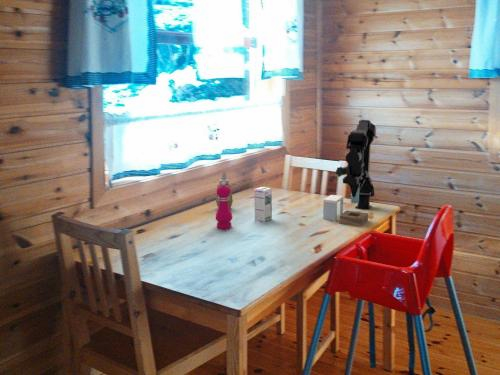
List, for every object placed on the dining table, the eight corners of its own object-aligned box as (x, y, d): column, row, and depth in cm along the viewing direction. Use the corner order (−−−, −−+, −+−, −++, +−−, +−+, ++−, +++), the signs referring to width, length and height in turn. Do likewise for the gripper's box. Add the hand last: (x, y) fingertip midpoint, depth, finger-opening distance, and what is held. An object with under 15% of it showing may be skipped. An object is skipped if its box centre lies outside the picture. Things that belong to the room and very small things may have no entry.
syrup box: (264, 221, 248) (264, 190, 245) (254, 219, 251) (253, 188, 248) (271, 219, 252) (272, 187, 249) (261, 216, 256) (261, 186, 253)
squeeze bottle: (213, 207, 271) (212, 171, 267) (228, 206, 275) (228, 170, 270) (219, 211, 264) (219, 174, 260) (235, 209, 267) (235, 173, 263)
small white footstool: (330, 213, 261) (331, 194, 259) (342, 214, 259) (343, 196, 256) (323, 218, 253) (323, 199, 250) (335, 220, 250) (336, 201, 248)
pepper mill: (230, 229, 237) (229, 184, 232) (213, 229, 238) (212, 183, 233) (234, 225, 243) (233, 180, 239) (218, 224, 245) (217, 179, 240)
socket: (346, 217, 254) (346, 210, 253) (367, 220, 249) (368, 213, 248) (339, 223, 245) (339, 216, 244) (361, 226, 241) (362, 218, 240)
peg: (352, 200, 247) (352, 183, 246) (359, 201, 246) (360, 184, 244) (349, 202, 244) (350, 184, 243) (357, 203, 243) (358, 185, 241)
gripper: (345, 156, 253) (343, 189, 256) (331, 163, 236) (330, 198, 240) (369, 158, 248) (367, 192, 251) (357, 165, 232) (355, 201, 235)
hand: (355, 196), depth 245 cm, fingers closed on peg, 3 cm apart
